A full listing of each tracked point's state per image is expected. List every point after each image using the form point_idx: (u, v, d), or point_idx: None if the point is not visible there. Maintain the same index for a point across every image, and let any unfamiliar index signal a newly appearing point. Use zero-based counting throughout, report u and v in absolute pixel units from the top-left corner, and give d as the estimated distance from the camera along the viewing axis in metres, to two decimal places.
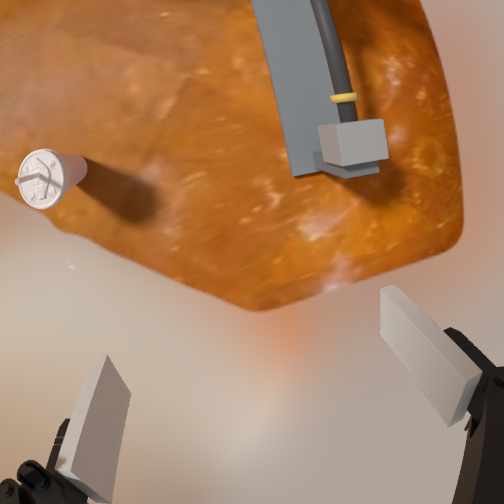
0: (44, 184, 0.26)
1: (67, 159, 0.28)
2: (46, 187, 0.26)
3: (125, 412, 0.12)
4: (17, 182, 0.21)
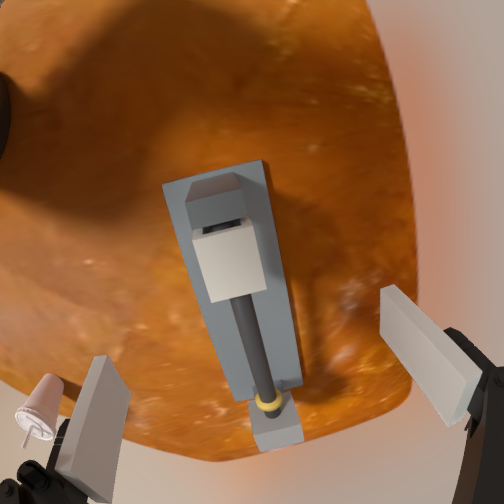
0: (39, 430, 0.29)
1: (48, 406, 0.31)
2: (41, 432, 0.29)
3: (125, 412, 0.12)
4: (23, 447, 0.24)
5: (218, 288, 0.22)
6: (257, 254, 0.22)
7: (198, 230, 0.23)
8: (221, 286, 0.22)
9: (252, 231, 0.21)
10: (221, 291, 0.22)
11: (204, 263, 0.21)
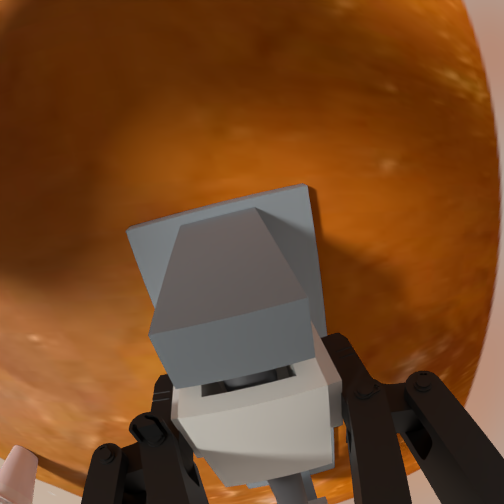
0: None
1: (19, 490, 0.18)
2: None
3: None
4: None
5: (239, 473, 0.09)
6: (326, 427, 0.08)
7: None
8: (245, 471, 0.09)
9: (324, 395, 0.08)
10: (245, 476, 0.09)
11: (210, 449, 0.08)
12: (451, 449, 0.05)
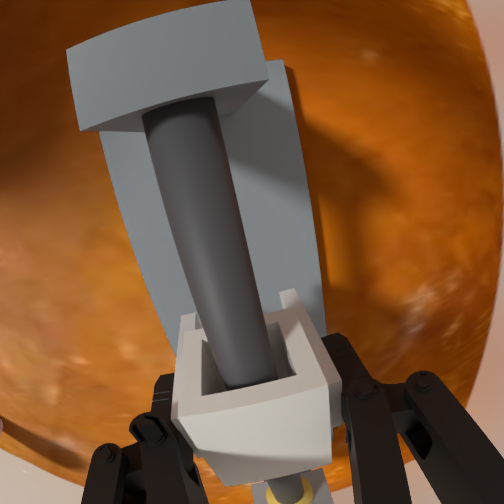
0: None
1: None
2: None
3: None
4: None
5: (239, 473, 0.09)
6: (326, 426, 0.08)
7: (191, 369, 0.09)
8: (244, 470, 0.09)
9: (324, 394, 0.08)
10: (244, 475, 0.09)
11: (209, 448, 0.08)
12: (451, 449, 0.05)
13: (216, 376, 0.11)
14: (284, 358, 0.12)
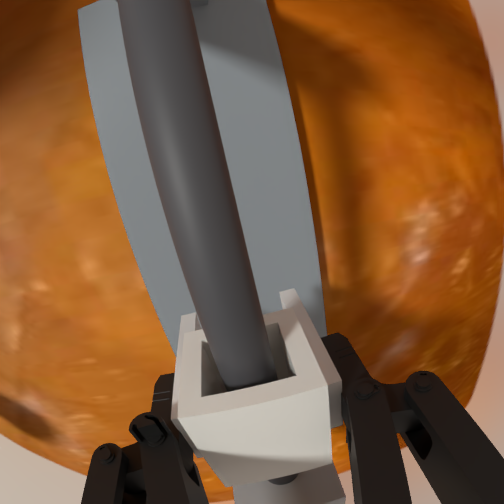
0: None
1: None
2: None
3: None
4: None
5: (239, 473, 0.09)
6: (326, 427, 0.08)
7: (191, 370, 0.09)
8: (244, 471, 0.09)
9: (324, 395, 0.08)
10: (245, 475, 0.09)
11: (209, 449, 0.08)
12: (451, 449, 0.05)
13: (216, 377, 0.11)
14: (284, 358, 0.12)
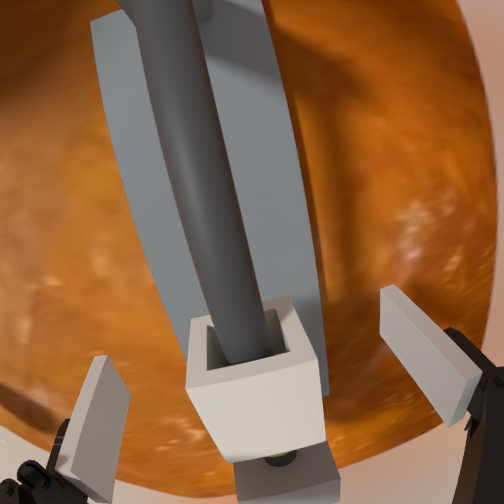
0: None
1: None
2: None
3: (125, 412, 0.12)
4: None
5: (240, 448, 0.10)
6: (318, 401, 0.10)
7: (198, 349, 0.11)
8: (245, 446, 0.10)
9: (315, 369, 0.09)
10: (245, 451, 0.10)
11: (213, 421, 0.10)
12: None
13: (219, 359, 0.13)
14: (281, 342, 0.13)
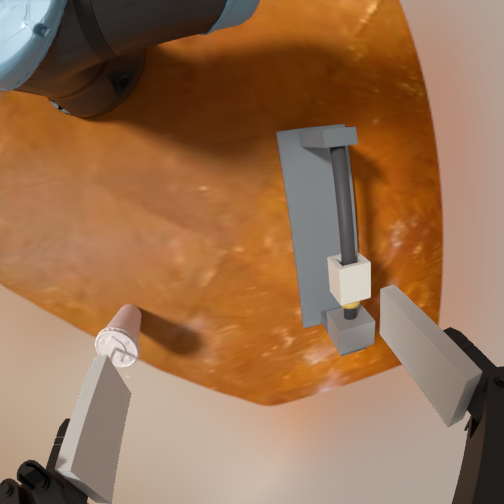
0: (121, 353, 0.38)
1: (133, 328, 0.40)
2: (123, 356, 0.38)
3: (125, 412, 0.12)
4: None
5: (346, 297, 0.37)
6: (369, 277, 0.36)
7: (336, 262, 0.37)
8: (348, 295, 0.37)
9: (369, 265, 0.36)
10: (347, 298, 0.37)
11: (342, 282, 0.36)
12: None
13: None
14: None
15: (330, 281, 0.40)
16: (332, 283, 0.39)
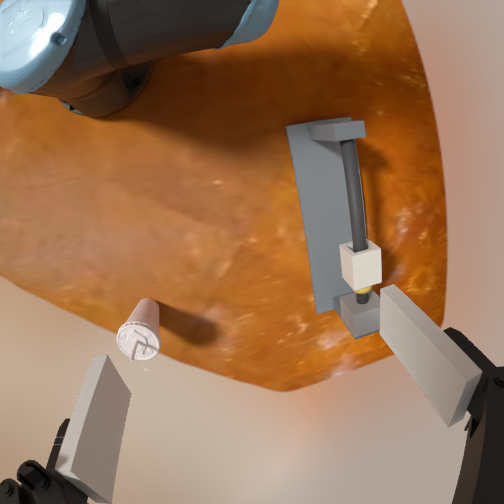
0: (142, 346, 0.40)
1: (153, 321, 0.42)
2: (145, 348, 0.40)
3: (125, 412, 0.12)
4: (131, 360, 0.35)
5: (359, 282, 0.39)
6: (380, 263, 0.38)
7: (348, 249, 0.39)
8: (360, 280, 0.39)
9: (380, 251, 0.37)
10: (360, 283, 0.39)
11: (355, 268, 0.38)
12: None
13: None
14: None
15: (343, 267, 0.42)
16: (345, 269, 0.41)
